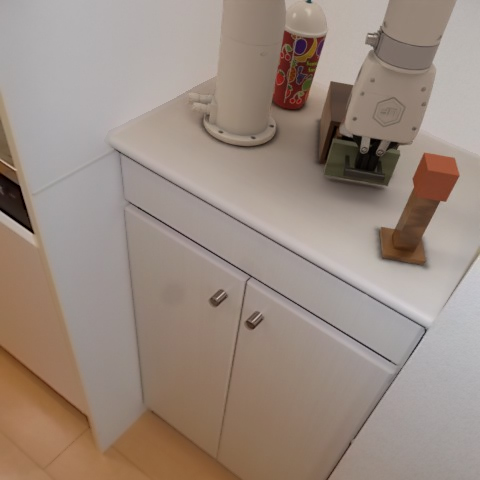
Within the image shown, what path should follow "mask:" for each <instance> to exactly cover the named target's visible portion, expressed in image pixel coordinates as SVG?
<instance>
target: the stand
mask: <svg viewBox="0 0 480 480" xmlns="http://www.w3.org/2000/svg"><path fill="white" fill-rule="evenodd" d="M440 203H441V201H437V200H432V199H426V198H420V197H416V196H415V191H414V187H413V188H412V190H411V192H410V195H409V197H408V199H407V201H406V204H405V205H404V208H403V210H402V212H401V214H400V217H399V219H398V221H397V223H396V225H395V228H391V227H384V226H380V229H379V238H380V239H379V240H380V250H381V251H380V252H381V257H382V259H385V260H391V261H397V262H403V263H408V264H409V263H410V264H415V265H420V266H425V264H426V262H427V260H426V254H425V249H424V244H423V243H424V242H423V236H424V234H425V232H426V230H427V228H428V227H429V224H430V222H431V220H432V218H433V217H434V215H435V213H436V211H437V209H438V208H439V206H440Z"/></svg>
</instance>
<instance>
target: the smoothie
mask: <svg viewBox="0 0 480 480" xmlns="http://www.w3.org/2000/svg"><path fill="white" fill-rule="evenodd" d="M328 33H329V26H328V24H327V18H326V15H325V13H324V11H323V9H322V7H321V6H320V5H319V4H317V2H314V1H312V0H299V1H296V2H294V3H293V4H291V5H290V6H289V7H288V8H287V9H286V23H285V30H284V35H283V42H282V48H281V53H280V59H279V64H278V70H277V75H276V81H275V86H274V92H273V97H272V100H273V102H274V103H275V104H276V105H277V106H279V107H281V108H284V109H287V110H298V109H300V108H302V107H303V105H304V104H305V102H306V101H308V98H309V94H310V91H311V88H312V85H313V81H314V78H315V74H316V71H317V68H318V64H319V61H320V58H321V54H322V51H323V48H324V44H325V42H326V37H327V34H328Z"/></svg>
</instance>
